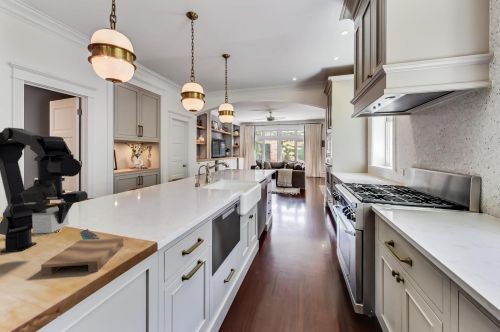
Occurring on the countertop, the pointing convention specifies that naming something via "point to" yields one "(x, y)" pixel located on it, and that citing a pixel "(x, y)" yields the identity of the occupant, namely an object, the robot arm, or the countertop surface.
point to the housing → (48, 221)
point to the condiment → (49, 205)
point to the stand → (84, 255)
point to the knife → (88, 235)
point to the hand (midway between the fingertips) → (51, 223)
